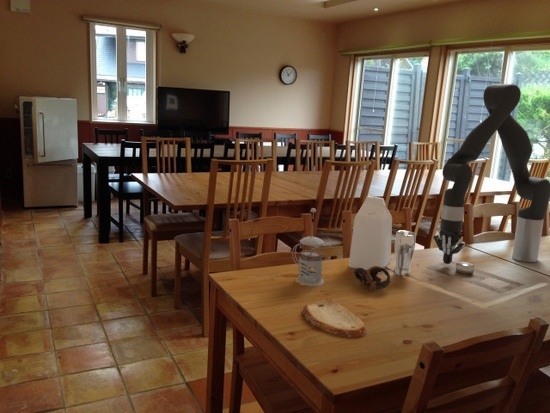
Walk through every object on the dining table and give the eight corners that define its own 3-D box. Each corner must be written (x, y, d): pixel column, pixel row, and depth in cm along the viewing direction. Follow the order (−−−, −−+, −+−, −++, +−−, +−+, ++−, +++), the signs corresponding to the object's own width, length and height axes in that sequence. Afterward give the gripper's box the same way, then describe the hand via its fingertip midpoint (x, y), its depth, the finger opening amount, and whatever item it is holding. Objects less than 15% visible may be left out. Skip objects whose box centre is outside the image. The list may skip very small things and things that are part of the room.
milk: (390, 265, 184) (396, 197, 179) (379, 273, 175) (385, 202, 169) (360, 259, 191) (365, 193, 185) (348, 266, 181) (353, 197, 176)
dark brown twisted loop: (388, 285, 165) (395, 269, 160) (382, 305, 159) (389, 289, 153) (354, 271, 168) (360, 255, 162) (346, 291, 161) (352, 275, 156)
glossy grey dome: (461, 268, 180) (462, 260, 179) (476, 273, 175) (477, 265, 174) (452, 271, 176) (453, 263, 175) (467, 276, 171) (468, 268, 171)
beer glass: (410, 271, 179) (414, 231, 176) (413, 277, 172) (417, 236, 169) (391, 269, 179) (394, 230, 176) (393, 276, 172) (397, 235, 169)
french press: (316, 288, 158) (320, 212, 153) (285, 280, 164) (288, 207, 159) (329, 280, 166) (333, 207, 161) (299, 272, 172) (302, 203, 167)
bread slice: (366, 340, 125) (368, 326, 125) (297, 332, 128) (297, 318, 128) (366, 311, 143) (367, 299, 142) (305, 305, 146) (305, 293, 145)
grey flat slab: (450, 263, 189) (450, 260, 188) (524, 287, 166) (524, 284, 166) (425, 270, 180) (425, 267, 180) (500, 296, 157) (500, 292, 157)
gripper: (474, 220, 174) (469, 266, 178) (443, 212, 185) (438, 257, 188) (462, 222, 170) (456, 270, 174) (430, 215, 181) (425, 260, 184)
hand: (447, 263), depth 181 cm, fingers closed
